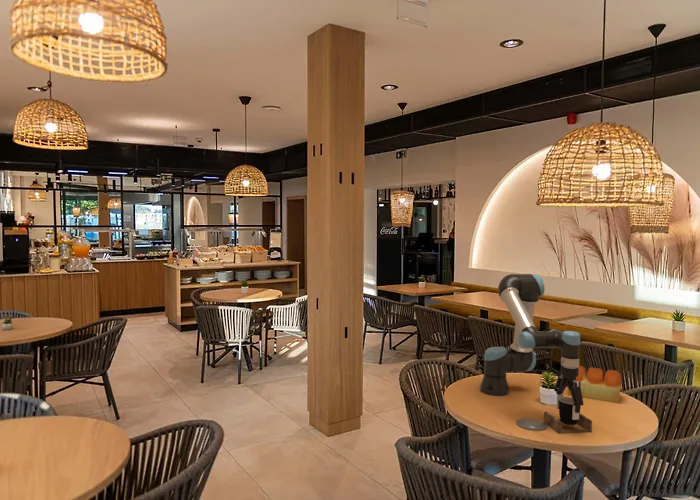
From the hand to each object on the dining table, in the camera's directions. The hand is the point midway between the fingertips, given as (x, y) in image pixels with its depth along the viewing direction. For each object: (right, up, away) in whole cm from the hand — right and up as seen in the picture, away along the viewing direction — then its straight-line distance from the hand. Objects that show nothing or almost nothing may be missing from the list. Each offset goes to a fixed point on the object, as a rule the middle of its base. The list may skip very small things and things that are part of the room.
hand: (567, 413), depth 233 cm
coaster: (-15, -6, +2) cm, 17 cm away
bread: (+32, -4, +42) cm, 53 cm away
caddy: (0, -6, 0) cm, 6 cm away
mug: (0, -4, 0) cm, 4 cm away
